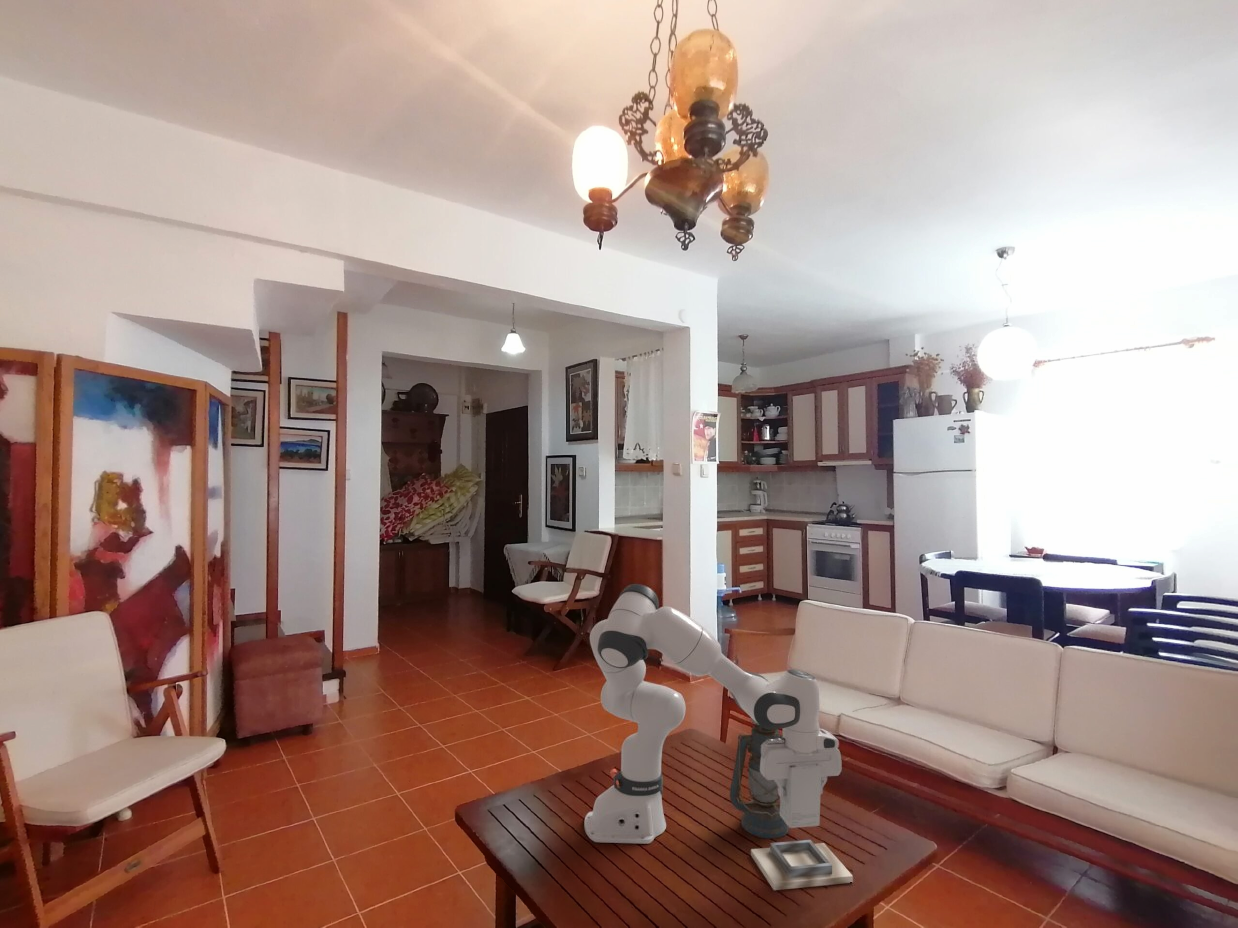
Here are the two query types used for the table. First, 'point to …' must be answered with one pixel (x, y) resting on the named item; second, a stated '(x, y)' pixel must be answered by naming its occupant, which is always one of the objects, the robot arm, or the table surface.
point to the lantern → (757, 788)
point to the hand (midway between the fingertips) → (800, 794)
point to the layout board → (800, 865)
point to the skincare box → (802, 796)
